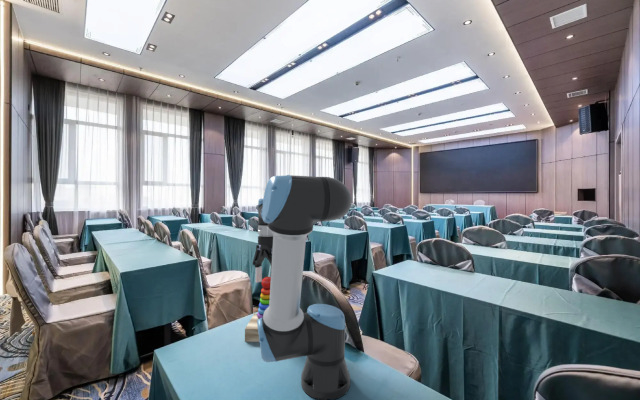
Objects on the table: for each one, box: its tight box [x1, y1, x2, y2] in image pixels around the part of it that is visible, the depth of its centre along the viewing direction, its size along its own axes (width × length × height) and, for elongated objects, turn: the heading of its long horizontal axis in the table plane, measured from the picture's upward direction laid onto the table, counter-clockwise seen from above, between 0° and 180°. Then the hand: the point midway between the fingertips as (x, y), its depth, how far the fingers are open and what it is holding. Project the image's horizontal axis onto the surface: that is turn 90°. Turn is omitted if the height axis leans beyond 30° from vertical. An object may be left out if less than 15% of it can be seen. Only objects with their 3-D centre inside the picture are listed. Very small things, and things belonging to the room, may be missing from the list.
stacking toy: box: [256, 276, 271, 320], centre depth 116 cm, size 8×8×19 cm
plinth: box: [244, 313, 260, 343], centre depth 116 cm, size 14×14×5 cm
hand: (266, 285), depth 115 cm, fingers open, 13 cm apart
